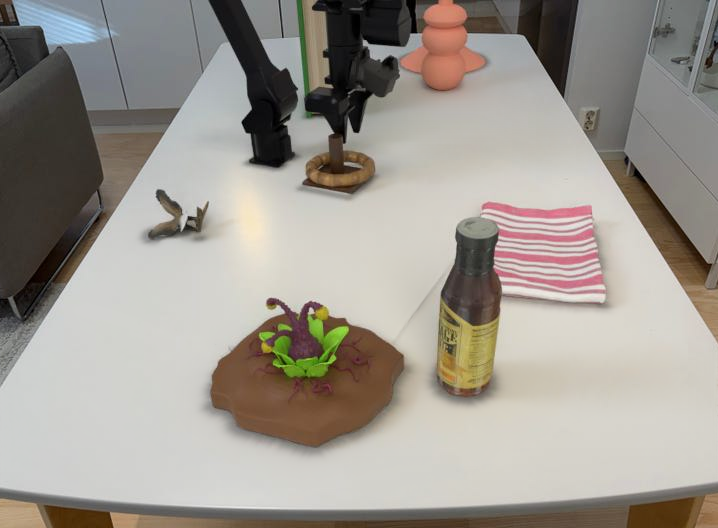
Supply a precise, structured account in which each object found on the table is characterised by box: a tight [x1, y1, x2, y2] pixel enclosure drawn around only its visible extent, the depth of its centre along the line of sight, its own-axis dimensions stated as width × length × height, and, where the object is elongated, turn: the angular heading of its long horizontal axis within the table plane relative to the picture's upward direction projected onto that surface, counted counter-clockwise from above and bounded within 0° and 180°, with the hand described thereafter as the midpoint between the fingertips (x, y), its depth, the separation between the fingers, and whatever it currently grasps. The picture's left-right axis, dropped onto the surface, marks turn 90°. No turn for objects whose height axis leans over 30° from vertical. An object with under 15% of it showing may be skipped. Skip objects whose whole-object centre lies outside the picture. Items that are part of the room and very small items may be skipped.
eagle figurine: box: [147, 188, 210, 239], centre depth 105 cm, size 8×7×9 cm
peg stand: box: [301, 132, 374, 195], centre depth 117 cm, size 9×9×8 cm
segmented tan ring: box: [305, 149, 377, 187], centre depth 119 cm, size 12×12×2 cm
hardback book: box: [295, 0, 333, 118], centre depth 143 cm, size 18×7×24 cm, turn 170°
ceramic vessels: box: [400, 0, 486, 91], centre depth 161 cm, size 35×21×19 cm, turn 175°
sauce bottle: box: [436, 216, 503, 397], centre depth 71 cm, size 6×6×20 cm
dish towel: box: [479, 201, 607, 305], centre depth 97 cm, size 17×23×4 cm
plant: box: [209, 297, 405, 448], centre depth 75 cm, size 20×20×11 cm
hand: (349, 138), depth 119 cm, fingers open, 5 cm apart
